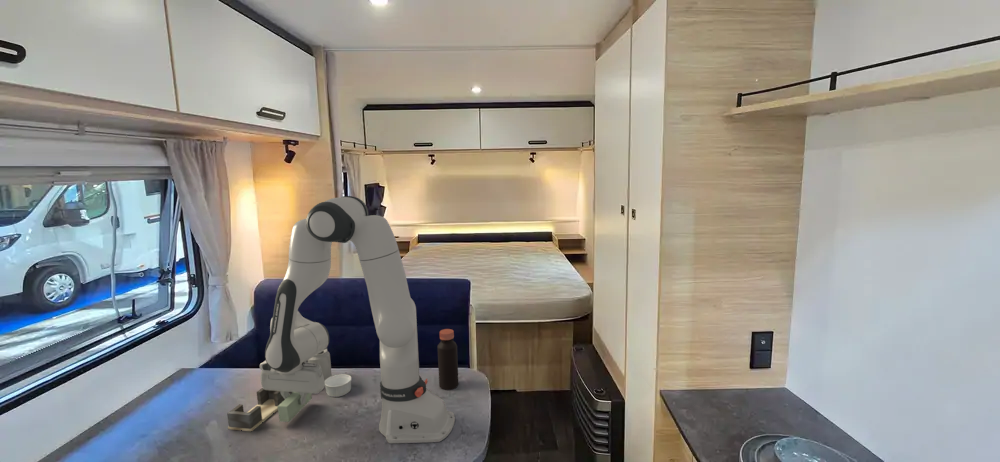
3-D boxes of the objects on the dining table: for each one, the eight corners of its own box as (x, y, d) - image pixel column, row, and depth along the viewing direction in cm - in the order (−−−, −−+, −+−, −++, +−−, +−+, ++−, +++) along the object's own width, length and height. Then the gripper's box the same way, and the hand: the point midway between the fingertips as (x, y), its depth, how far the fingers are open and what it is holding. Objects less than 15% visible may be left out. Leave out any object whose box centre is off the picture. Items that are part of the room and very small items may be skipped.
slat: (311, 398, 142) (310, 384, 141) (288, 421, 129) (286, 406, 128) (303, 398, 142) (301, 384, 141) (279, 421, 129) (277, 406, 129)
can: (324, 388, 152) (321, 356, 150) (305, 386, 154) (302, 354, 152) (336, 377, 159) (333, 347, 157) (318, 376, 161) (315, 345, 159)
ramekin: (349, 382, 156) (348, 371, 155) (355, 393, 148) (354, 381, 148) (323, 389, 151) (322, 378, 151) (327, 401, 144) (326, 389, 143)
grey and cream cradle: (289, 400, 144) (287, 386, 144) (251, 431, 128) (249, 415, 127) (267, 398, 146) (266, 384, 145) (228, 429, 129) (226, 413, 129)
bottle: (454, 391, 148) (451, 336, 145) (436, 389, 150) (433, 334, 147) (461, 381, 154) (459, 328, 151) (443, 379, 156) (441, 327, 153)
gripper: (326, 358, 134) (331, 400, 136) (269, 355, 138) (274, 395, 140) (314, 368, 128) (319, 411, 130) (254, 364, 132) (260, 406, 134)
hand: (295, 403), depth 135 cm, fingers closed on slat, 3 cm apart
